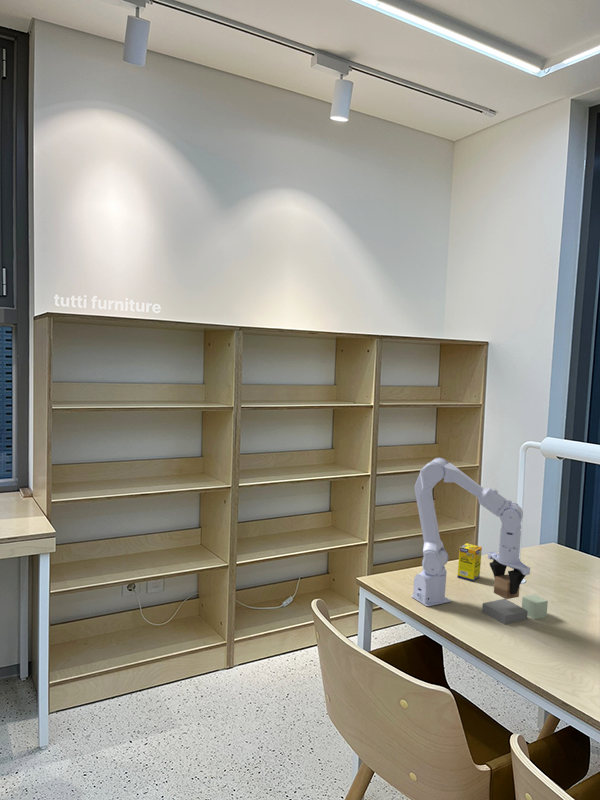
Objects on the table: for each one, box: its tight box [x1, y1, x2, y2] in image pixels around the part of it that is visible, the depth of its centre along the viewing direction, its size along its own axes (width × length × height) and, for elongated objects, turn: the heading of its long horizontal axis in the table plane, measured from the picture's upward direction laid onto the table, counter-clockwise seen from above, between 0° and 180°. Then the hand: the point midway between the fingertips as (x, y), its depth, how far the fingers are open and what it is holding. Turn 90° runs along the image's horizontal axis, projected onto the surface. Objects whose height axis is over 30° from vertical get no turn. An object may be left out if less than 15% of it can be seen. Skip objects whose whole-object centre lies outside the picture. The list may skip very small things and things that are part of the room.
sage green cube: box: [521, 594, 549, 620], centre depth 178 cm, size 5×5×5 cm
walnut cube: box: [493, 573, 521, 600], centre depth 176 cm, size 5×5×5 cm
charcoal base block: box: [481, 598, 528, 625], centre depth 177 cm, size 9×9×3 cm
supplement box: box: [457, 542, 483, 583], centre depth 206 cm, size 6×6×11 cm
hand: (506, 590), depth 176 cm, fingers closed on walnut cube, 5 cm apart
